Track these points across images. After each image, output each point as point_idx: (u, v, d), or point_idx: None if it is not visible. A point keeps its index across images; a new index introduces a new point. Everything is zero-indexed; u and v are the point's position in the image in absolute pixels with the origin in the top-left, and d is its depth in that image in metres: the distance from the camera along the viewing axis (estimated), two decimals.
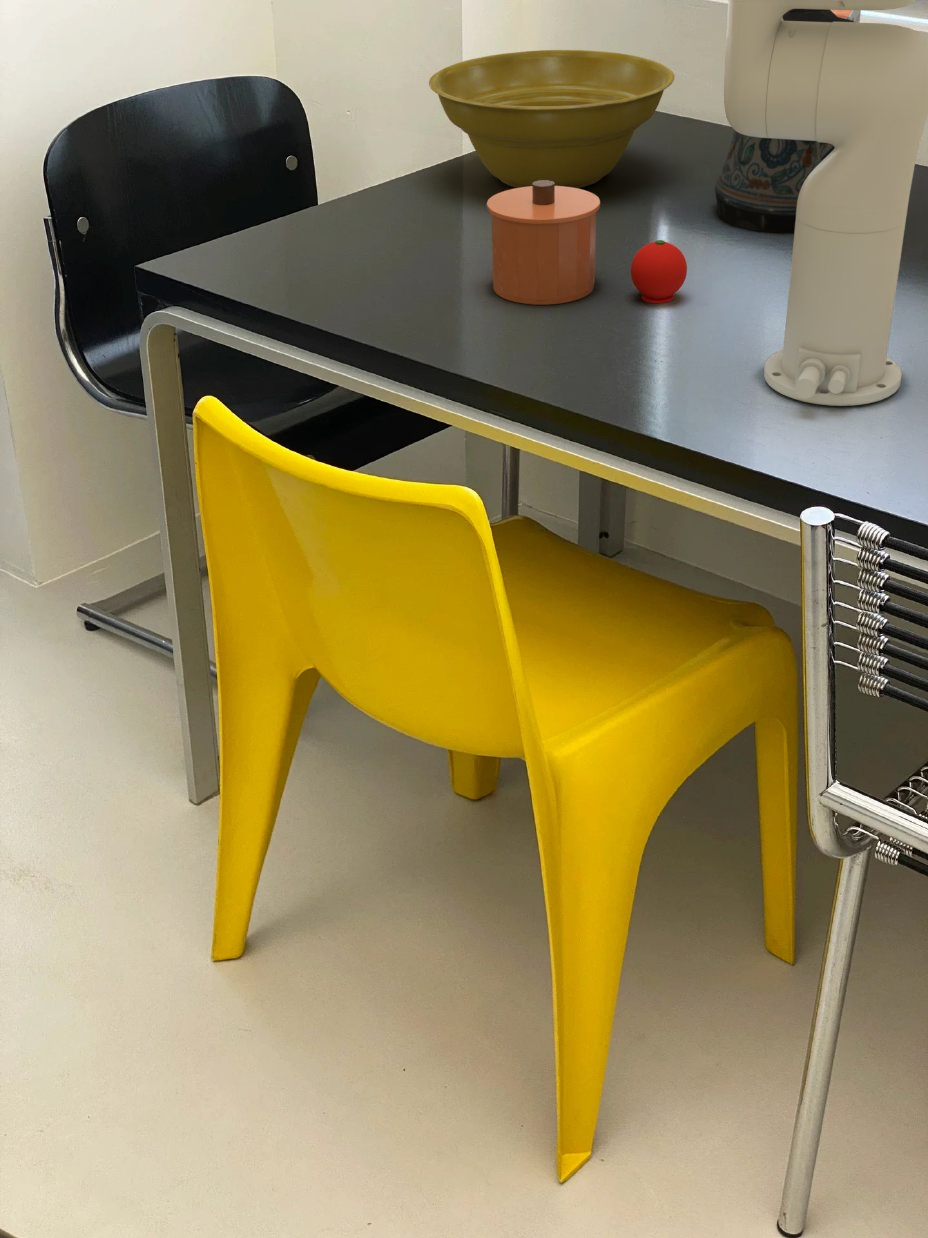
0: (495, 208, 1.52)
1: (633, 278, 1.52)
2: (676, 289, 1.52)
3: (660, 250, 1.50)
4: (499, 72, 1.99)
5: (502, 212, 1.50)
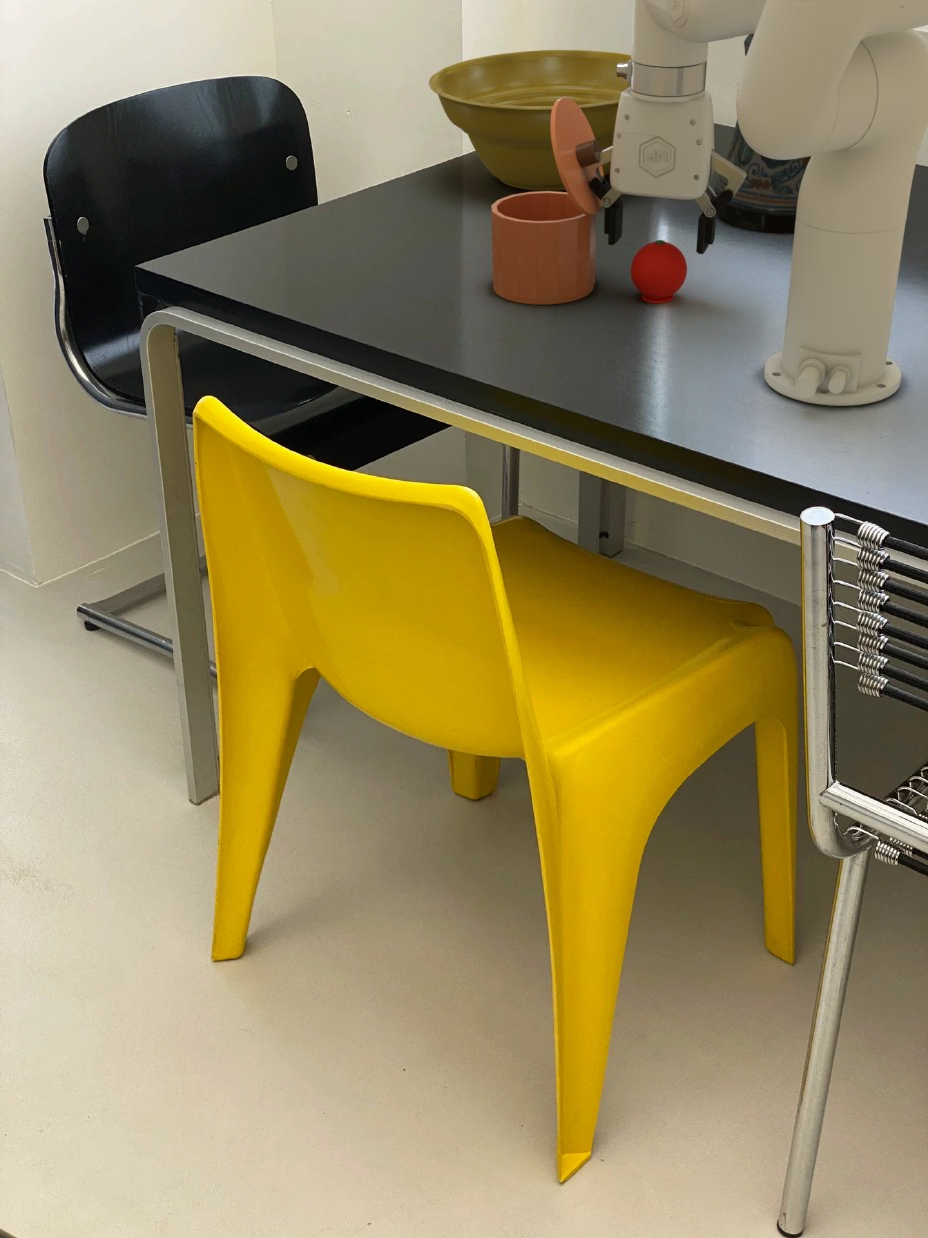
0: (556, 124, 1.45)
1: (633, 278, 1.52)
2: (676, 289, 1.52)
3: (660, 250, 1.50)
4: (499, 72, 1.99)
5: (557, 138, 1.44)
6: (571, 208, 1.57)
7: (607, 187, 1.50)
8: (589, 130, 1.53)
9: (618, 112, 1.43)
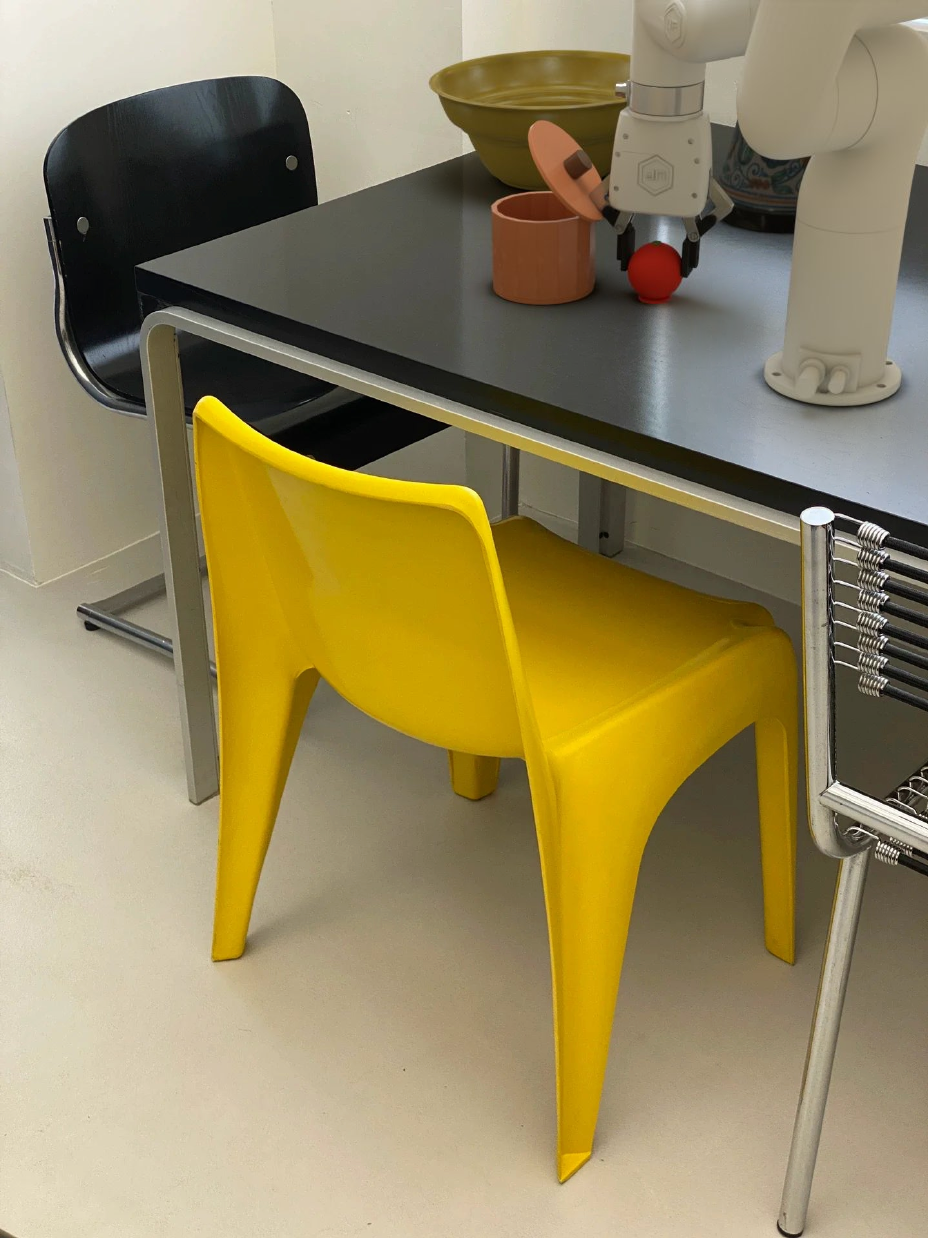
0: (535, 145, 1.47)
1: (630, 278, 1.52)
2: (673, 290, 1.52)
3: (656, 251, 1.50)
4: (499, 72, 1.99)
5: (539, 157, 1.46)
6: None
7: None
8: (576, 145, 1.54)
9: (617, 131, 1.45)
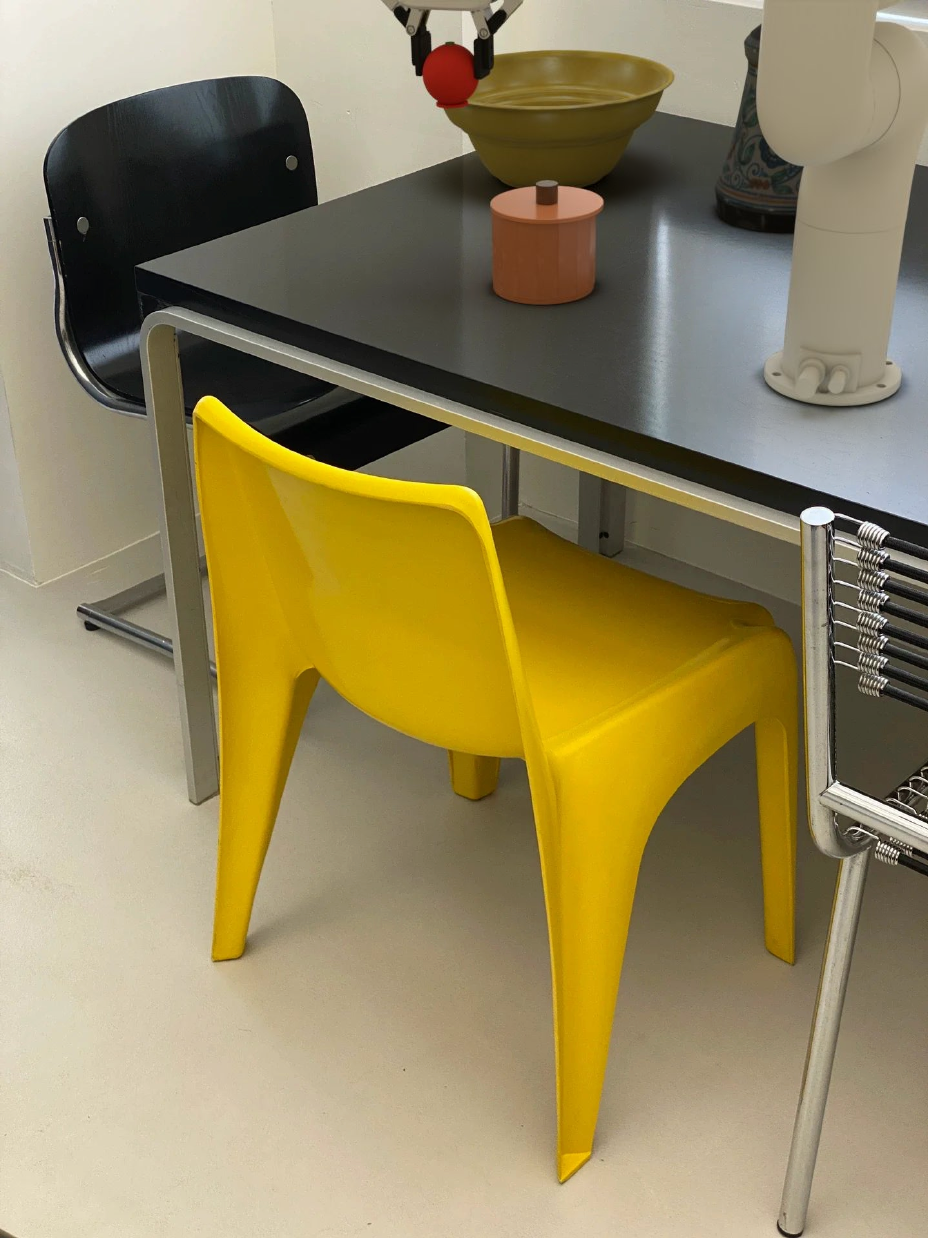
0: (499, 209, 1.51)
1: (424, 82, 1.48)
2: (468, 92, 1.48)
3: (448, 50, 1.46)
4: (499, 72, 1.99)
5: (506, 213, 1.50)
6: None
7: None
8: None
9: None
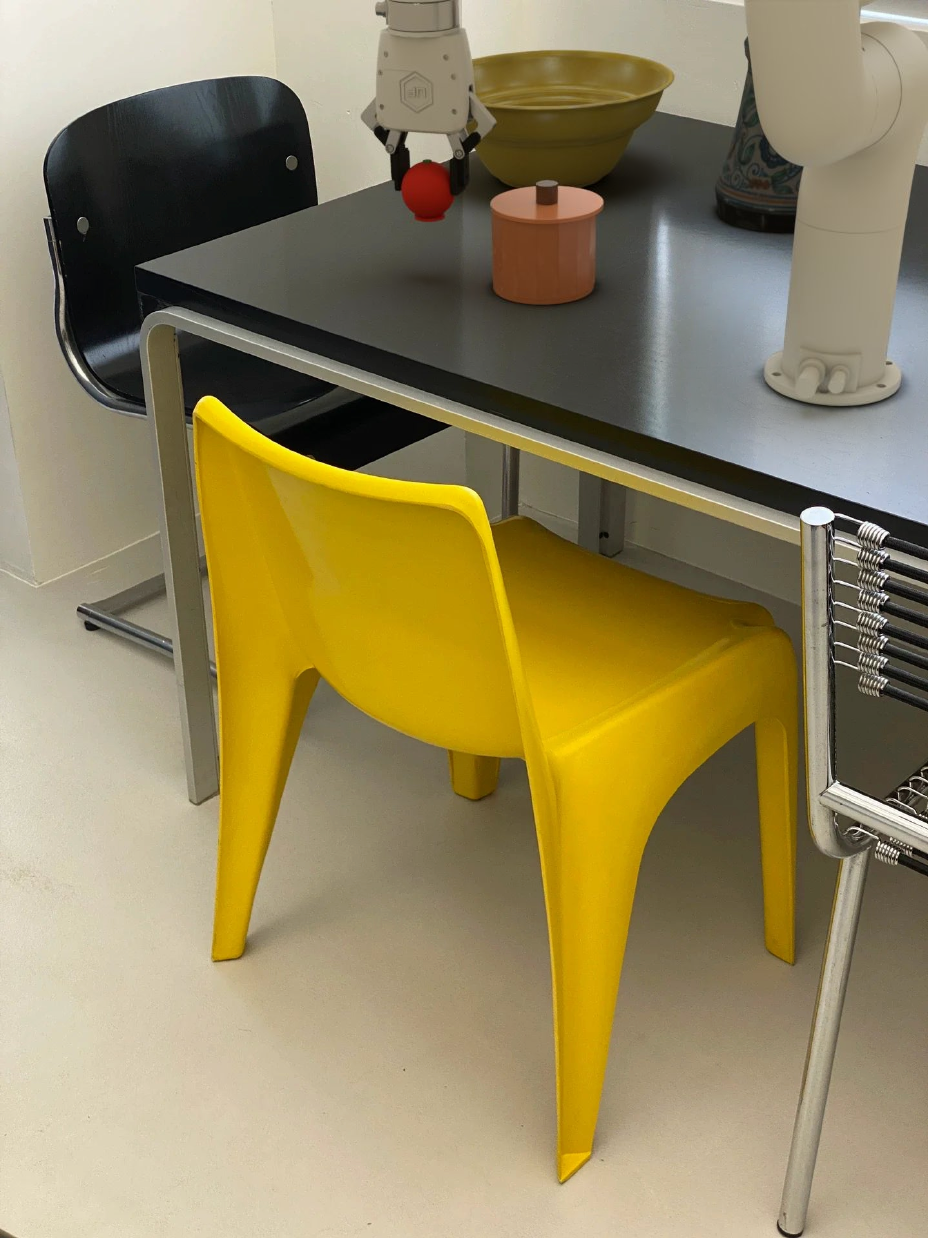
0: (499, 209, 1.51)
1: (403, 197, 1.56)
2: (444, 207, 1.56)
3: (425, 169, 1.54)
4: (499, 72, 1.99)
5: (506, 213, 1.50)
6: None
7: None
8: None
9: (378, 49, 1.49)
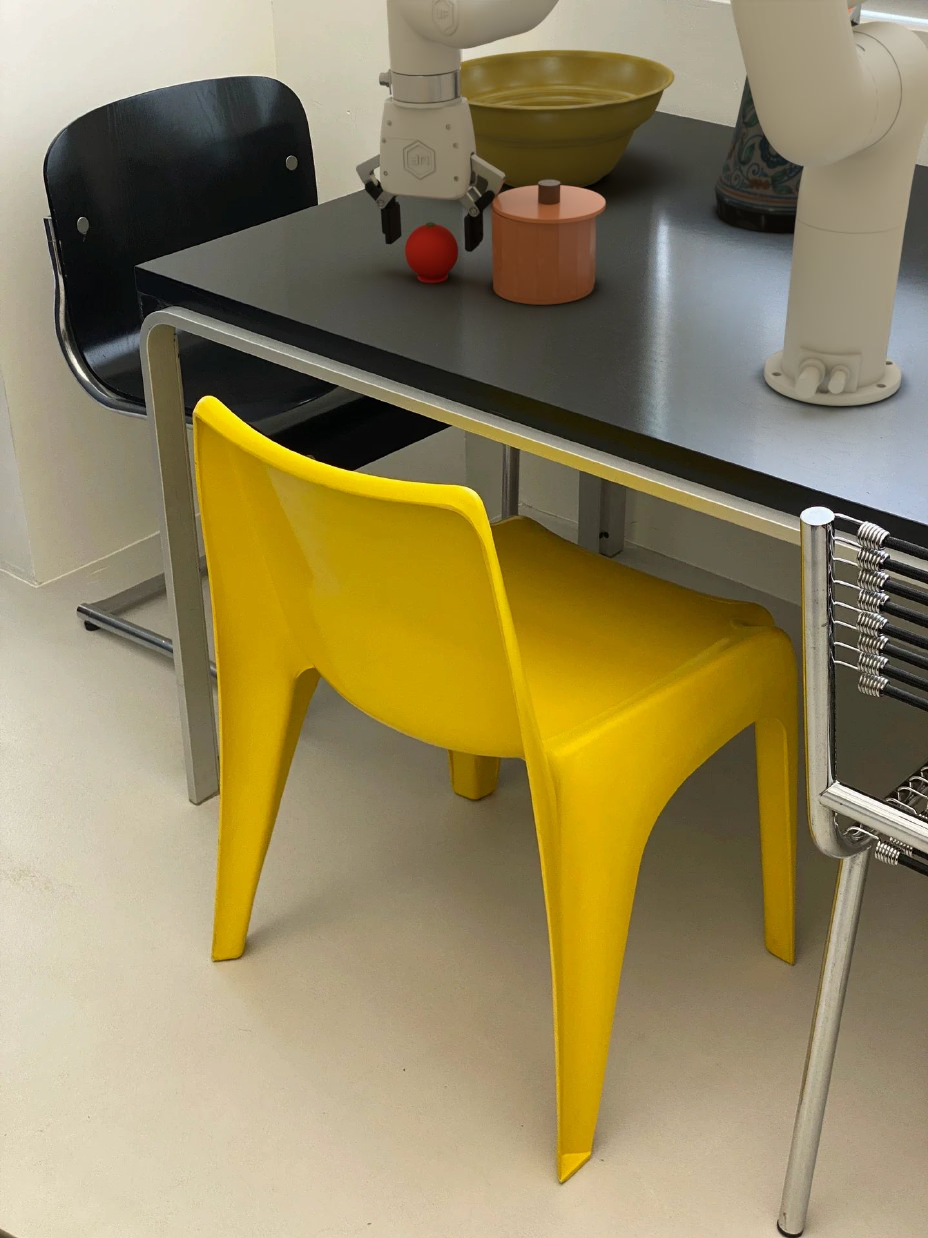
0: (501, 207, 1.51)
1: (406, 259, 1.60)
2: (447, 269, 1.59)
3: (429, 232, 1.57)
4: (499, 72, 1.99)
5: (509, 211, 1.50)
6: None
7: (381, 190, 1.59)
8: None
9: (382, 118, 1.52)
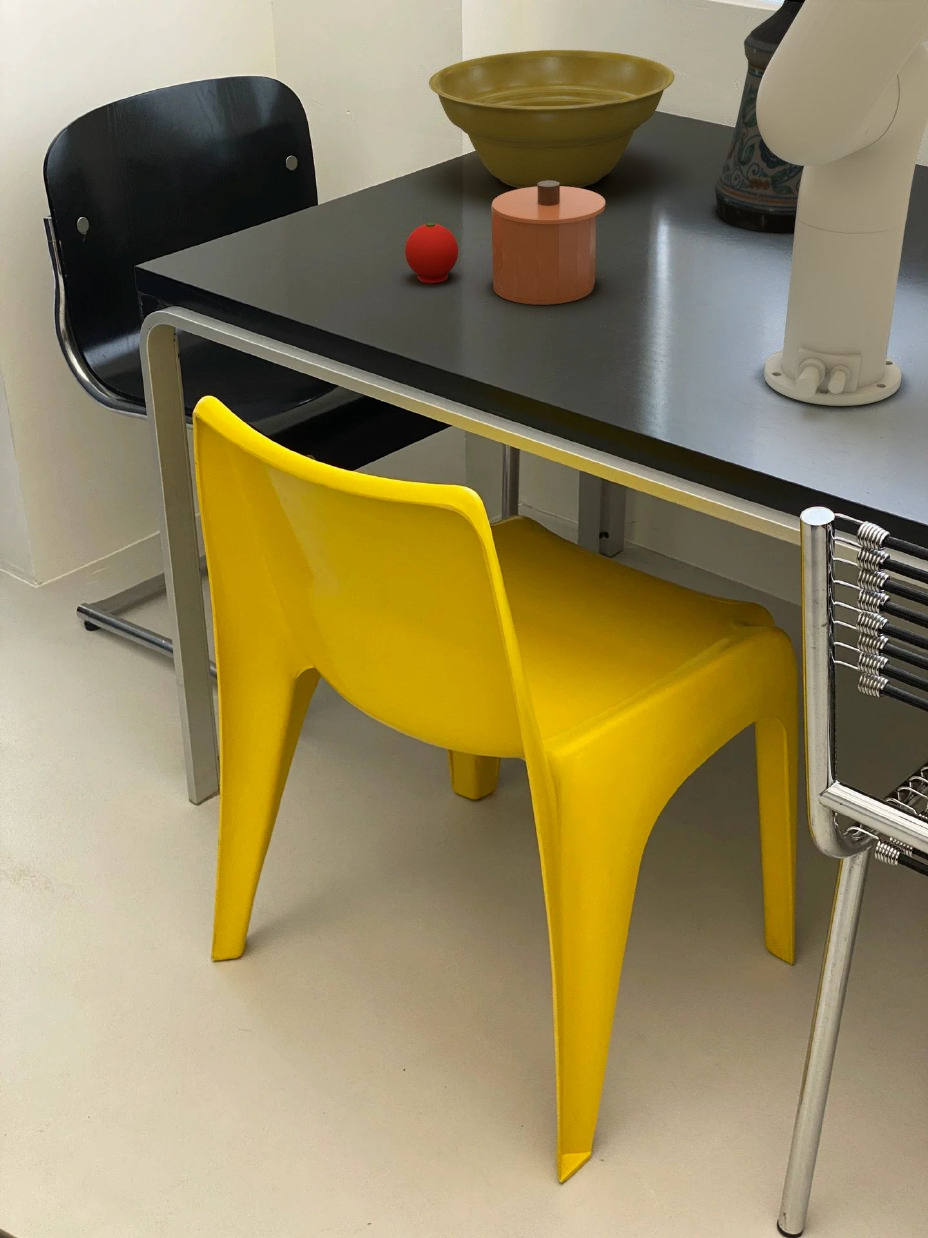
0: (501, 209, 1.51)
1: (406, 259, 1.60)
2: (447, 269, 1.59)
3: (429, 232, 1.57)
4: (499, 72, 1.99)
5: (508, 213, 1.50)
6: None
7: None
8: None
9: None
